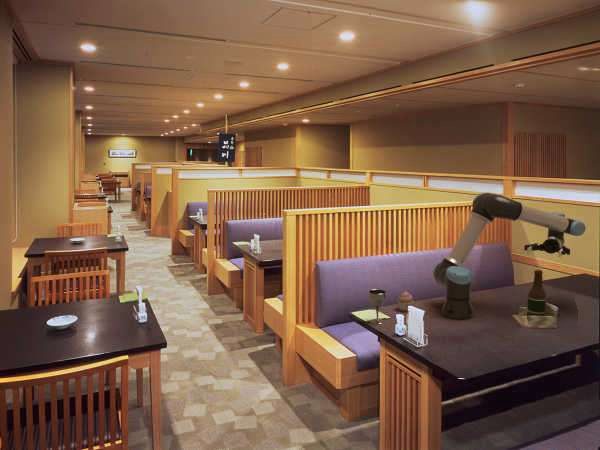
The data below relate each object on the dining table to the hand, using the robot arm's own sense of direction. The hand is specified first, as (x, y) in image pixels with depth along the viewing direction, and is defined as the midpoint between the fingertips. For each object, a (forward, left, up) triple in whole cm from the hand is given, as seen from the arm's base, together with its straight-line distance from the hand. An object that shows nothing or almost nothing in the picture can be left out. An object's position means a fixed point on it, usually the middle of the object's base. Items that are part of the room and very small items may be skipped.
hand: (543, 252), depth 226 cm
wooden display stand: (-5, -8, -32) cm, 33 cm away
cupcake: (-64, +7, -32) cm, 72 cm away
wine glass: (-79, -11, -32) cm, 86 cm away
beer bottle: (-5, -8, -31) cm, 32 cm away
